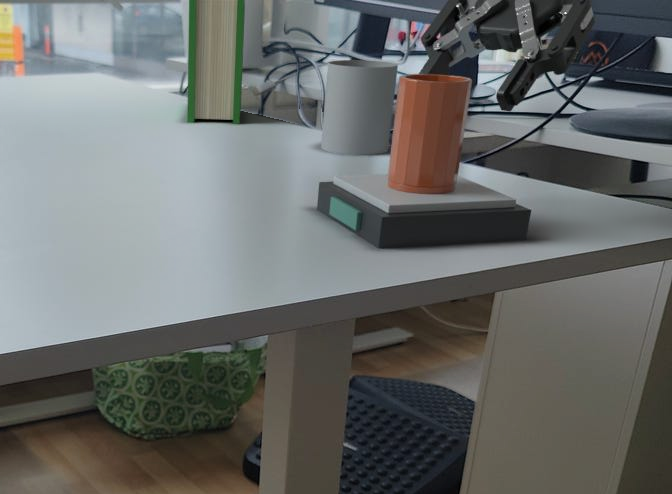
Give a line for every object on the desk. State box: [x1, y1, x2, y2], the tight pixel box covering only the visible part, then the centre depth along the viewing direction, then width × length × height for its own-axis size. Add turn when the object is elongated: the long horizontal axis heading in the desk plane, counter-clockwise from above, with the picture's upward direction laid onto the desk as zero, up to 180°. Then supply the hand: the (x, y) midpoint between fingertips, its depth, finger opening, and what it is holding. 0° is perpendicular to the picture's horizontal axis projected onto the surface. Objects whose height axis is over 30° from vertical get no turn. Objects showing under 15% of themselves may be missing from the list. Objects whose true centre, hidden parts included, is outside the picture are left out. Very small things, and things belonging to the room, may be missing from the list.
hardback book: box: [186, 0, 246, 125], centre depth 138 cm, size 18×7×24 cm, turn 177°
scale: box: [316, 173, 532, 249], centre depth 86 cm, size 14×14×4 cm
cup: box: [320, 59, 398, 156], centre depth 118 cm, size 8×8×10 cm
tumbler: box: [387, 73, 473, 194], centre depth 83 cm, size 6×6×9 cm
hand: (460, 98), depth 84 cm, fingers open, 8 cm apart
